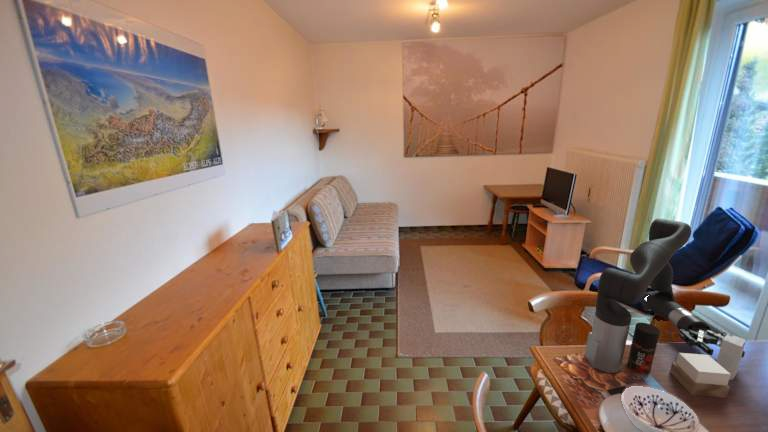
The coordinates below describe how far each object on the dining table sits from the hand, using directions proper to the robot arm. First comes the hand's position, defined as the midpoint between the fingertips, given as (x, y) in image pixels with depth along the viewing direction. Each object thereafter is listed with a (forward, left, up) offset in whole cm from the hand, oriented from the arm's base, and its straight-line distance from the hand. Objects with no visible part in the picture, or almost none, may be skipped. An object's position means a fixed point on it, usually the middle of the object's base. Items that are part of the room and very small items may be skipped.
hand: (727, 354), depth 100 cm
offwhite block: (-11, -7, -3) cm, 13 cm away
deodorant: (-25, -2, -7) cm, 26 cm away
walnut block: (-12, -7, -7) cm, 15 cm away
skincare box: (0, -1, -7) cm, 7 cm away
